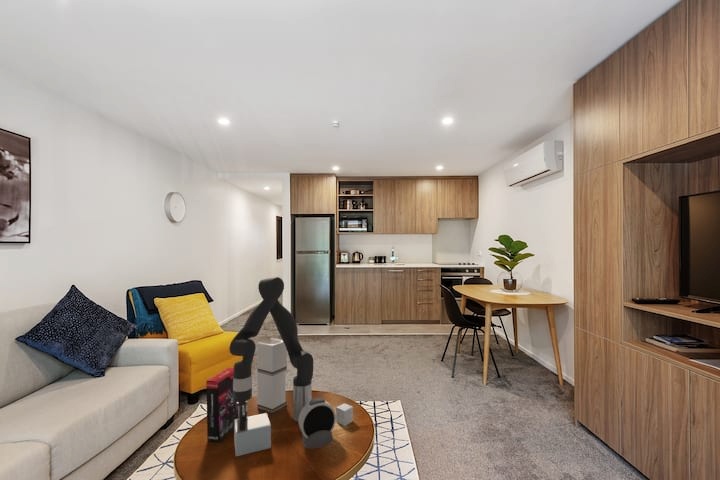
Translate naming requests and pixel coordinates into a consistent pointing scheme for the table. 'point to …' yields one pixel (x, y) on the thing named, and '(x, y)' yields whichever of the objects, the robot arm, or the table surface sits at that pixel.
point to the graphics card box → (220, 405)
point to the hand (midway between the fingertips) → (242, 429)
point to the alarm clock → (317, 423)
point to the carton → (253, 423)
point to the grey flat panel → (252, 439)
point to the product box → (344, 414)
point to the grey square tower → (271, 375)
